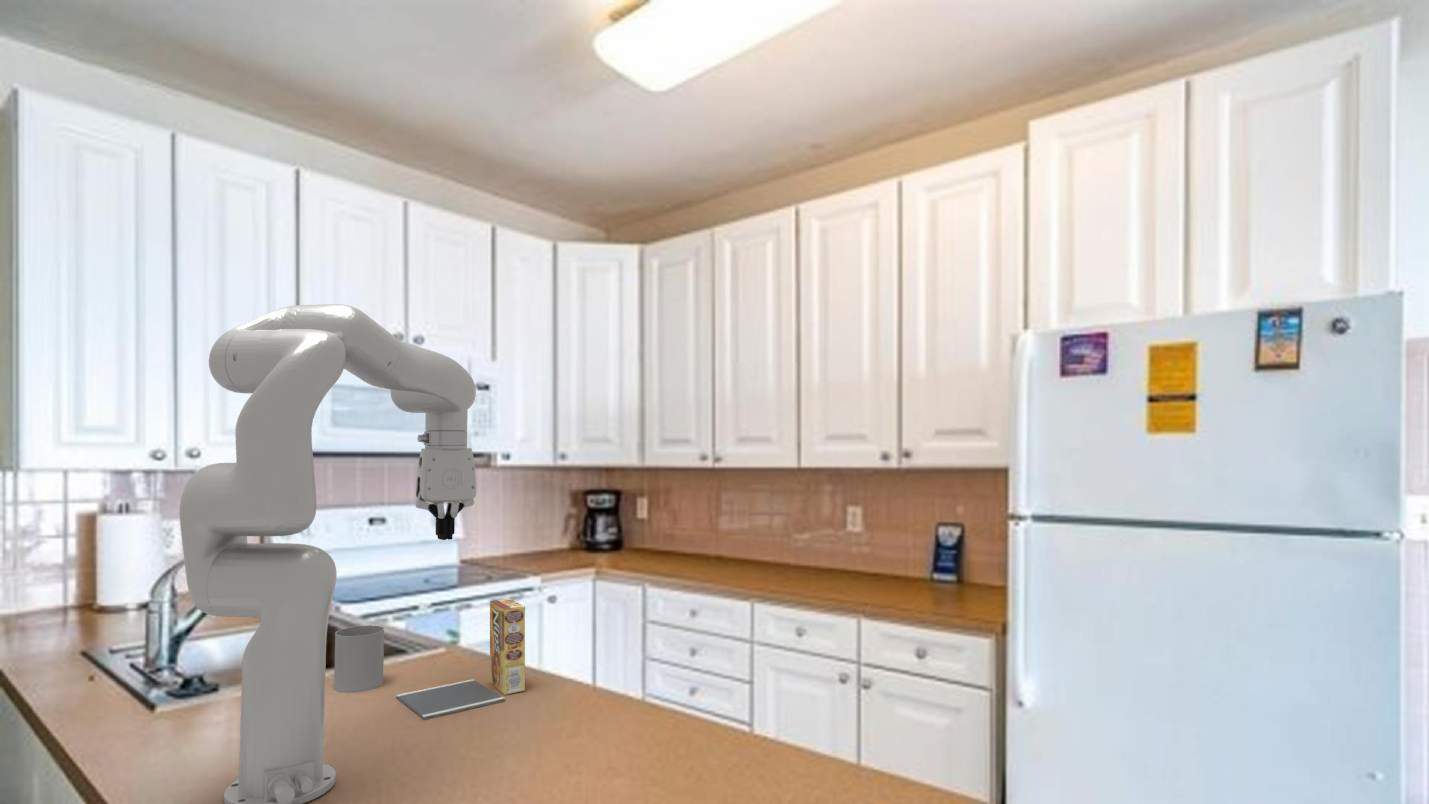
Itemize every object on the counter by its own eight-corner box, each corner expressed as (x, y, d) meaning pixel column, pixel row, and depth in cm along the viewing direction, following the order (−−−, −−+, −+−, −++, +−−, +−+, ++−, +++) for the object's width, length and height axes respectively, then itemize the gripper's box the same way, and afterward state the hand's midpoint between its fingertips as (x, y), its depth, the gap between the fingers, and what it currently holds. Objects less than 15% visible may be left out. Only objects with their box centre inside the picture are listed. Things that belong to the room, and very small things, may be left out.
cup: (334, 681, 144) (336, 628, 144) (382, 676, 147) (383, 623, 148) (333, 695, 136) (334, 638, 137) (383, 688, 140) (384, 633, 140)
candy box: (526, 691, 138) (526, 605, 139) (502, 696, 136) (503, 608, 136) (510, 679, 145) (510, 597, 146) (487, 683, 143) (488, 600, 144)
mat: (504, 701, 133) (505, 698, 133) (423, 719, 124) (423, 716, 124) (473, 681, 144) (473, 679, 144) (396, 697, 135) (396, 695, 135)
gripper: (413, 441, 136) (411, 544, 135) (492, 440, 146) (491, 537, 145) (398, 441, 141) (397, 540, 141) (476, 440, 151) (475, 534, 150)
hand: (444, 538), depth 143 cm, fingers closed
